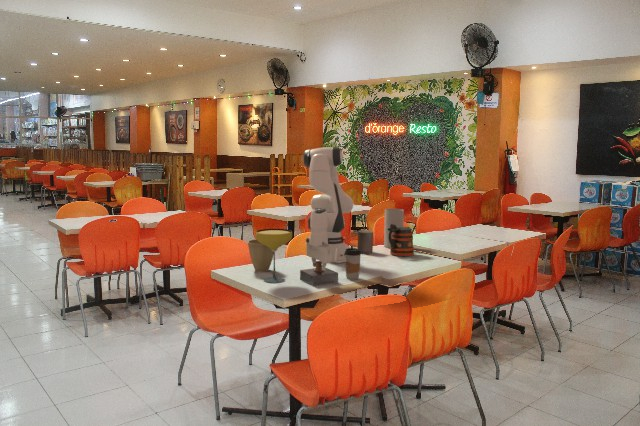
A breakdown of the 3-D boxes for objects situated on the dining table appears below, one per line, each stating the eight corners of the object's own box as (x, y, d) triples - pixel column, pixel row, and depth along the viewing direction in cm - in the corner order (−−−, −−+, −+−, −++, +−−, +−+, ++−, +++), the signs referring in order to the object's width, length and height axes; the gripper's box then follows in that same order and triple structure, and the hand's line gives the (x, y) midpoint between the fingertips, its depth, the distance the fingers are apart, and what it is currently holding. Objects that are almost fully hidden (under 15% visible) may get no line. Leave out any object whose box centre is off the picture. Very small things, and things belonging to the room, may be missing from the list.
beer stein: (399, 258, 318) (400, 225, 316) (380, 255, 329) (381, 223, 326) (418, 254, 331) (419, 222, 329) (399, 251, 342) (400, 220, 339)
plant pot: (246, 273, 282) (245, 243, 280) (250, 267, 296) (249, 238, 294) (274, 273, 282) (274, 244, 280) (277, 267, 296) (276, 239, 294)
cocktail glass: (280, 274, 280) (279, 227, 277) (299, 281, 266) (299, 232, 263) (249, 279, 270) (249, 230, 266) (268, 287, 255) (267, 235, 252)
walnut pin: (319, 280, 268) (320, 260, 267) (322, 281, 266) (322, 261, 265) (314, 280, 267) (314, 261, 266) (317, 282, 264) (317, 262, 263)
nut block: (324, 276, 276) (324, 267, 275) (338, 282, 264) (338, 272, 263) (300, 279, 269) (300, 270, 268) (313, 286, 257) (313, 276, 256)
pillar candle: (354, 252, 336) (354, 229, 334) (362, 250, 344) (363, 227, 342) (367, 254, 330) (368, 231, 328) (375, 252, 338) (376, 229, 336)
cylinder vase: (386, 244, 363) (386, 208, 360) (404, 245, 359) (405, 209, 356) (382, 248, 351) (383, 210, 348) (401, 249, 347) (402, 211, 344)
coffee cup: (341, 278, 273) (341, 249, 271) (351, 275, 278) (352, 247, 276) (353, 281, 267) (353, 251, 265) (364, 278, 272) (364, 249, 270)
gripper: (335, 244, 256) (335, 272, 258) (314, 237, 274) (314, 263, 276) (323, 245, 253) (323, 273, 255) (304, 238, 271) (304, 264, 273)
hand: (319, 268), depth 266 cm, fingers open, 7 cm apart
